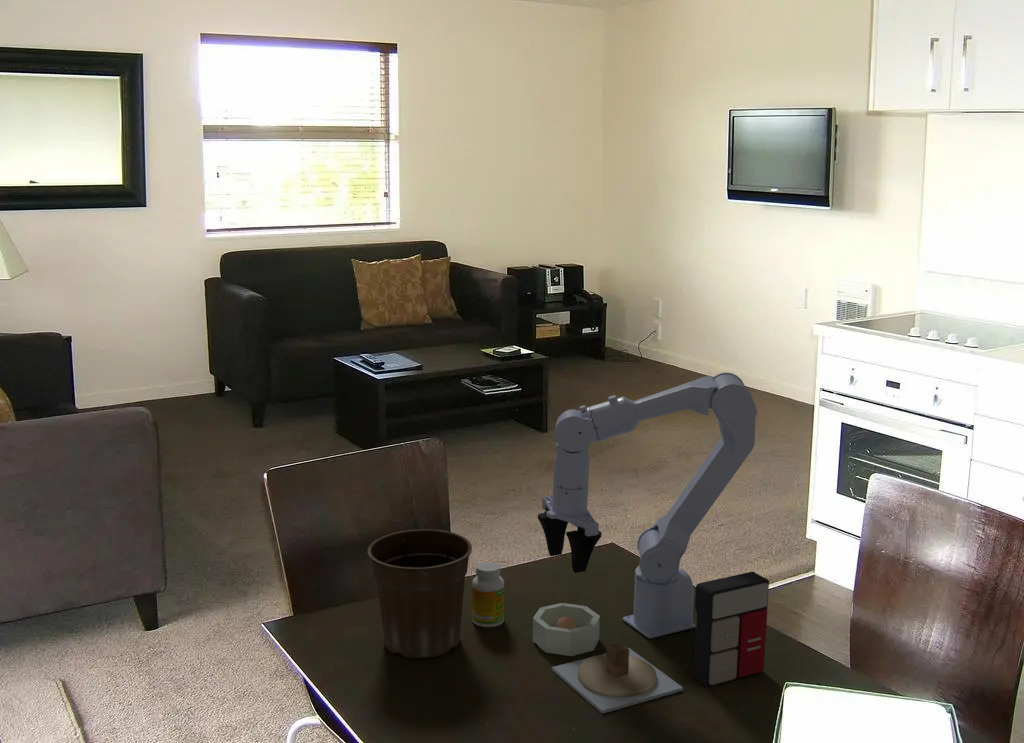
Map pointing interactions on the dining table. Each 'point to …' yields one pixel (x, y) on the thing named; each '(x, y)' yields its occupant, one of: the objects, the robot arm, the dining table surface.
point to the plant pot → (420, 589)
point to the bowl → (562, 638)
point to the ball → (566, 623)
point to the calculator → (730, 628)
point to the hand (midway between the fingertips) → (567, 562)
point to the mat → (610, 703)
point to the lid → (617, 673)
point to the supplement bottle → (488, 595)
